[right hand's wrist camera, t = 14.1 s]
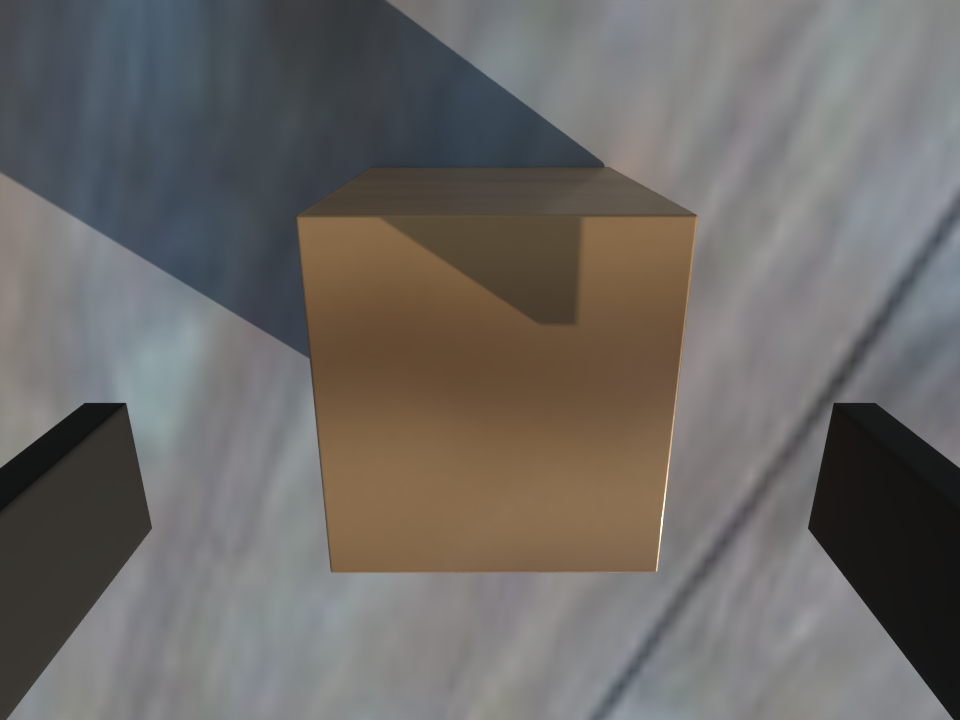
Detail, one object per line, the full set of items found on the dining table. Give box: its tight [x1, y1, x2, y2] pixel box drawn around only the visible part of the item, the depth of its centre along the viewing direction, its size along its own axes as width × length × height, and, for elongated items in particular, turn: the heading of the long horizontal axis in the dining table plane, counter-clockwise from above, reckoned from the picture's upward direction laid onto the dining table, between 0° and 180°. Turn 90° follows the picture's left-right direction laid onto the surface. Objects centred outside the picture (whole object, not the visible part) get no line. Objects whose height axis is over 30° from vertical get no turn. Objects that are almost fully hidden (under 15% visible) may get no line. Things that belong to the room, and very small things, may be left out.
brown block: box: [296, 167, 698, 573], centre depth 19 cm, size 8×8×9 cm
